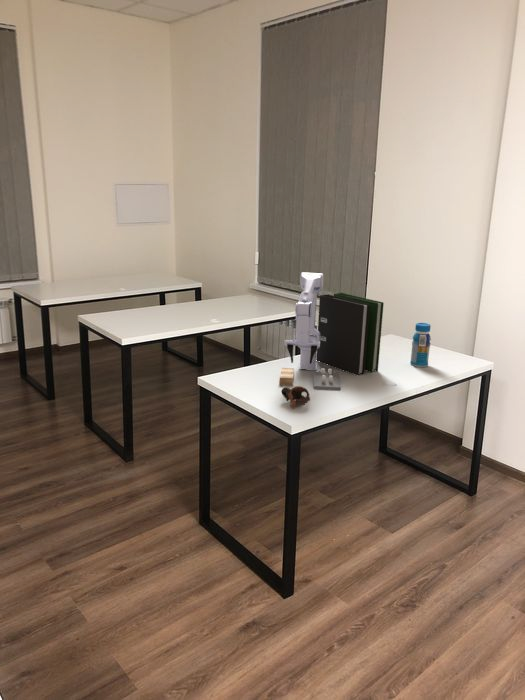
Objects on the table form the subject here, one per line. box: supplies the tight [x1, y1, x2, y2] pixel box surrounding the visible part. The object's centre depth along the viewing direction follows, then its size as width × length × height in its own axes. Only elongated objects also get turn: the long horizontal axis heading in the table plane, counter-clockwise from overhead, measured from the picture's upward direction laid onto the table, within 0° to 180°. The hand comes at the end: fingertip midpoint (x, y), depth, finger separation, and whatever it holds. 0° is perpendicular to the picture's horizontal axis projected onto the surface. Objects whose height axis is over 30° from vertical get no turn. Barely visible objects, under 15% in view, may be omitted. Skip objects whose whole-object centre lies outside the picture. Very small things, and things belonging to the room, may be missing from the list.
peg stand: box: [312, 367, 342, 391], centre depth 250 cm, size 20×11×4 cm, turn 176°
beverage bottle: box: [410, 322, 432, 368], centre depth 276 cm, size 8×8×20 cm
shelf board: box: [279, 367, 295, 386], centre depth 252 cm, size 14×6×4 cm, turn 175°
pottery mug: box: [281, 386, 311, 409], centre depth 223 cm, size 12×10×8 cm
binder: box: [316, 292, 385, 376], centre depth 270 cm, size 27×15×32 cm, turn 37°
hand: (301, 362), depth 244 cm, fingers open, 7 cm apart
